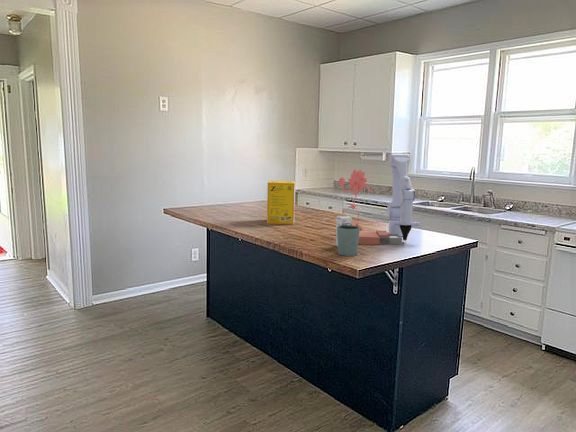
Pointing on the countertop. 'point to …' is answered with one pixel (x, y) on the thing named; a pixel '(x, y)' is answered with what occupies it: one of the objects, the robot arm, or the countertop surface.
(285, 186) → the packaging box
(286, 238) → the countertop surface
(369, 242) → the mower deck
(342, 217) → the syrup box
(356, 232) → the green tapered cup
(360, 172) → the pink flower bunch
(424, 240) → the countertop surface
